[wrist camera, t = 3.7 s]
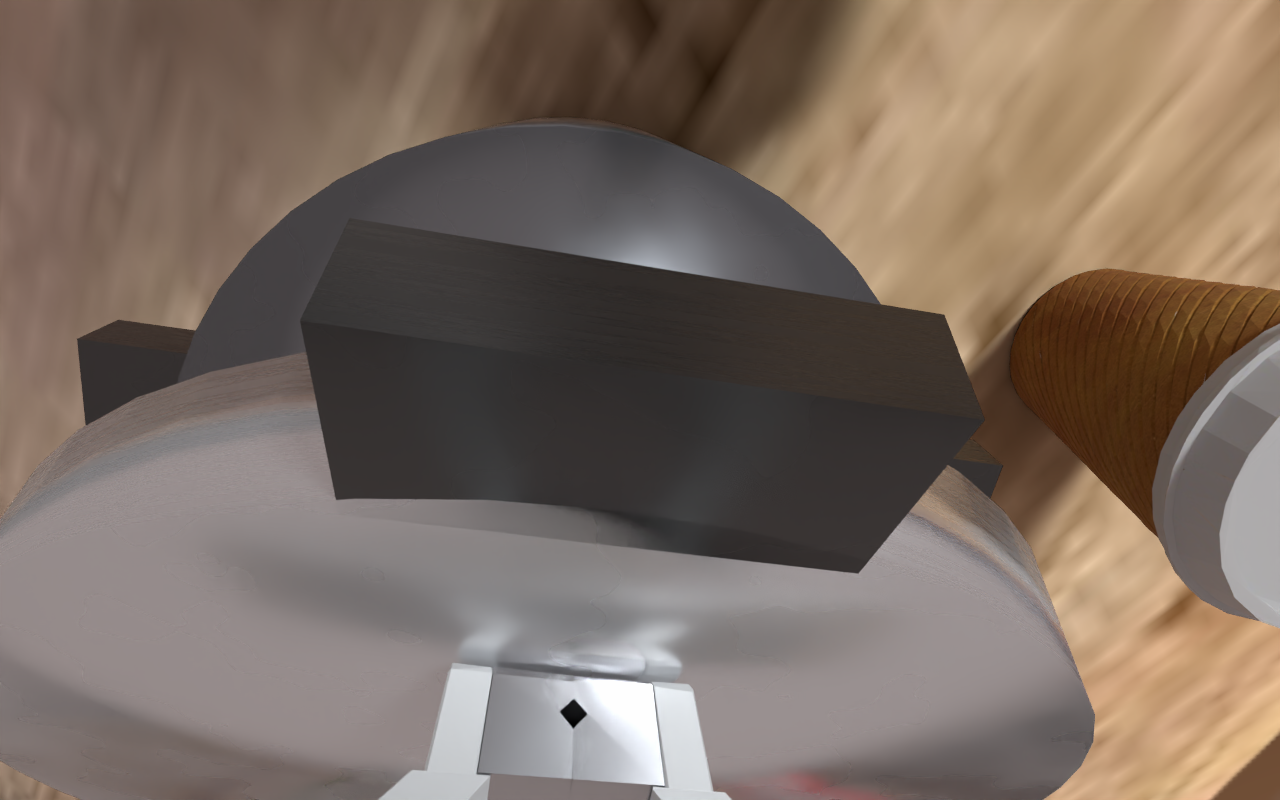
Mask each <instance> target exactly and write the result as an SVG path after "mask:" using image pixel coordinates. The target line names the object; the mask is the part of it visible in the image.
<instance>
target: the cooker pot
mask: <svg viewBox="0 0 1280 800" xmlns="http://www.w3.org/2000/svg"><path fill="white" fill-rule="evenodd" d="M349 218H353V219H359V220H365V221H371V222H378V223H384V224H390V225H396V226H402V227H408V228H414V229H421V230H427V231H433V232H439V233H445V234H451V235H457V236H464V237H470V238H476V239H482V240H488V241H494V242H500V243H507V244H513V245H519V246H525V247H531V248H537V249H543V250H549V251H556V252H562V253H568V254H574V255H580V256H586V257H592V258H599V259H605V260H611V261H617V262H623V263H629V264H635V265H642V266H648V267H654V268H660V269H666V270H672V271H678V272H684V273H691V274H697V275H703V276H709V277H715V278H721V279H727V280H734V281H740V282H746V283H752V284H758V285H764V286H770V287H777V288H783V289H789V290H795V291H801V292H807V293H813V294H819V295H826V296H832V297H838V298H844V299H850V300H856V301H862V302H869V303H875V304H880V302H879V301H878V300H877V298H876V297H875V295H874V294H873V292H872V291H871V289H870V288H869V286H868V285H867V284H866V282H865V281H864V279H863V278H862V276H861V275H860V273H859V272H858V270H857V269H856V268H855V267H854V265H853V264H852V263H851V262H850V261H849V260H848V259H847V258H846V257H845V256H844V255H843V254H842V253H841V252H840V250H839V249H838V248H837V247H836V246H835V245H834V244H833V243H832V242H831V241H830V240H829V239H828V238H827V237H826V235H825V234H824V233H823V232H822V231H821V230H820V229H818V228H817V227H816V226H815V225H814V224H812V223H811V222H810V221H809V220H807V219H806V218H805V217H804V216H802V215H801V214H800V213H799V212H797V211H796V210H795V209H794V208H792V207H791V206H790V205H789V204H787V203H786V202H785V201H784V200H782V199H781V198H780V197H778V196H777V195H775V194H773V193H772V192H770V191H768V190H766V189H765V188H763V187H761V186H760V185H758V184H756V183H755V182H753V181H751V180H749V179H748V178H746V177H744V176H743V175H741V174H739V173H738V172H736V171H734V170H732V169H730V168H728V167H726V166H724V165H721V164H719V163H717V162H715V161H713V160H710V159H708V158H706V157H704V156H701V155H699V154H697V153H695V152H692V151H690V150H688V149H686V148H683V147H681V146H679V145H677V144H674V143H672V142H670V141H667V140H665V139H662V138H660V137H658V136H655V135H653V134H650V133H648V132H645V131H643V130H640V129H636V128H633V127H629V126H625V125H621V124H617V123H613V122H609V121H603V120H595V119H586V118H577V117H549V118H533V119H527V120H521V121H515V122H509V123H503V124H498V125H494V126H490V127H486V128H482V129H477V130H473V131H469V132H465V133H461V134H456V135H452V136H448V137H444V138H441V139H438V140H435V141H431V142H428V143H425V144H422V145H419V146H416V147H412V148H409V149H406V150H403V151H400V152H397V153H393V154H390V155H388V156H386V157H384V158H382V159H379V160H377V161H375V162H373V163H371V164H369V165H367V166H365V167H363V168H361V169H359V170H357V171H355V172H353V173H350V174H348V175H346V176H344V177H342V178H340V179H338V180H336V181H335V182H333V183H332V184H330V185H329V186H328V187H326V188H325V189H323V190H322V191H320V192H319V193H317V194H316V195H314V196H313V197H311V198H310V199H308V200H307V201H306V202H304V203H303V204H301V205H300V206H298V207H297V208H295V209H294V210H292V211H291V212H290V213H289V214H288V215H286V216H285V217H284V218H283V219H282V220H281V221H280V222H279V223H278V224H277V225H276V226H275V227H274V228H273V229H271V230H270V231H269V232H268V233H267V234H266V235H265V236H264V237H263V238H262V239H261V240H260V241H259V242H258V243H256V244H255V245H254V246H253V247H252V248H251V249H250V250H249V252H248V253H247V254H246V256H245V257H244V258H243V259H242V261H241V262H240V263H239V265H238V266H237V267H236V268H235V270H234V271H233V272H232V273H231V275H230V276H229V277H228V279H227V280H226V281H225V282H224V284H223V285H222V286H221V288H220V289H219V290H218V292H217V294H216V295H215V297H214V299H213V301H212V303H211V305H210V306H209V308H208V310H207V312H206V314H205V315H204V317H203V319H202V321H201V323H200V324H199V326H198V328H197V330H196V331H194V330H187V329H180V328H173V327H165V326H158V325H151V324H144V323H137V322H130V321H123V320H117V321H115V322H113V323H110V324H108V325H106V326H104V327H102V328H100V329H98V330H95V331H93V332H91V333H89V334H87V335H85V336H82V337H80V338H78V339H77V341H78V351H79V361H80V372H81V382H82V392H83V402H84V412H85V423H86V425H88V424H90V423H92V422H93V421H95V420H97V419H99V418H101V417H103V416H104V415H106V414H108V413H110V412H112V411H113V410H115V409H117V408H119V407H121V406H122V405H124V404H126V403H128V402H130V401H131V400H133V399H135V398H138V397H141V396H143V395H146V394H149V393H152V392H155V391H158V390H160V389H163V388H166V387H169V386H172V385H175V384H177V383H180V382H183V381H186V380H189V379H192V378H195V377H197V376H200V375H203V374H206V373H209V372H212V371H217V370H222V369H226V368H231V367H236V366H241V365H246V364H250V363H255V362H260V361H265V360H269V359H274V358H279V357H284V356H289V355H293V354H298V353H303V352H306V349H305V344H304V339H303V334H302V329H301V324H300V319H301V317H302V315H303V313H304V311H305V309H306V307H307V305H308V303H309V301H310V298H311V296H312V294H313V292H314V290H315V288H316V286H317V284H318V282H319V280H320V278H321V276H322V274H323V272H324V270H325V267H326V265H327V263H328V261H329V259H330V257H331V255H332V253H333V251H334V249H335V247H336V245H337V243H338V241H339V239H340V236H341V234H342V232H343V230H344V228H345V226H346V224H347V222H348V220H349ZM948 465H949V466H950V467H952V468H954V469H955V470H957V471H958V472H960V473H961V474H962V475H964V476H965V477H966V478H967V479H968V480H969V481H970V482H972V483H973V484H974V485H975V486H976V487H977V488H978V489H980V490H981V491H982V492H983V493H984V494H985V495H987V496H988V497H989V498H991V495H992V492H993V490H994V487H995V485H996V482H997V480H998V477H999V474H1000V472H1001V469H1002V467H1003V465H1002V464H1001V463H999V462H998V461H997V460H996V459H995V458H994V457H992V456H991V455H990V454H989V453H988V452H987V451H986V450H984V449H983V448H982V447H981V446H980V445H979V444H977V443H976V442H975V441H974V440H968V441H967V442H966V443H965V445H964V446H963V447H962V448H961V450H960V451H959V452H958V453H957V454H956V456H955V457H954V458H953V459H952V460H951V462H950V463H949V464H948Z"/></svg>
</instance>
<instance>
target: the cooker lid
mask: <svg viewBox="0 0 1280 800" xmlns="http://www.w3.org/2000/svg"><path fill="white" fill-rule="evenodd" d="M300 324H301V329H302V334H303V339H304V344H305V349H306V352H303V353H298V354H293V355H289V356H284V357H279V358H274V359H269V360H265V361H260V362H255V363H250V364H246V365H241V366H236V367H231V368H226V369H222V370H217V371H212V372H209V373H206V374H203V375H200V376H197V377H195V378H192V379H189V380H186V381H183V382H180V383H177V384H175V385H172V386H169V387H166V388H163V389H160V390H158V391H155V392H152V393H149V394H146V395H143V396H141V397H138V398H135V399H133V400H131V401H130V402H128V403H126V404H124V405H122V406H121V407H119V408H117V409H115V410H113V411H112V412H110V413H108V414H106V415H104V416H103V417H101V418H99V419H97V420H95V421H93V422H92V423H90V424H88V425H86V426H84V427H83V428H81V429H79V430H77V431H76V432H75V433H74V434H73V435H72V436H71V437H70V438H68V439H67V440H66V441H65V442H64V443H63V444H62V445H60V446H59V447H58V448H57V449H56V450H55V451H54V452H53V453H51V454H50V455H49V456H48V457H47V458H46V459H45V460H43V461H42V462H41V463H40V464H39V465H38V466H37V468H36V469H35V471H34V472H33V473H32V475H31V476H30V478H29V479H28V481H27V482H26V483H25V485H24V486H23V488H22V489H21V491H20V492H19V493H18V495H17V496H16V498H15V499H14V501H13V502H12V503H11V505H10V506H9V508H8V509H7V511H6V512H5V513H4V515H3V516H2V518H1V519H0V761H2V762H3V763H5V764H7V765H8V766H10V767H12V768H13V769H15V770H17V771H19V772H21V773H23V774H25V775H27V776H29V777H31V778H33V779H35V780H37V781H39V782H42V783H44V784H46V785H48V786H50V787H52V788H54V789H56V790H58V791H61V792H63V793H66V794H68V795H71V796H73V797H76V798H79V799H81V800H378V799H379V798H380V797H381V796H382V795H383V794H385V793H386V792H387V791H388V790H389V789H390V788H391V787H392V786H394V785H395V784H396V783H397V782H398V781H399V780H400V779H401V778H402V777H404V776H405V775H406V774H407V773H408V772H409V771H410V770H421V771H424V769H425V765H426V761H427V757H428V753H429V749H430V744H431V740H432V736H433V732H434V728H435V724H436V720H437V716H438V711H439V707H440V703H441V699H442V695H443V691H444V687H445V683H446V678H447V674H448V671H449V669H450V667H451V665H452V663H458V664H467V665H476V666H485V667H492V668H493V672H494V667H500V668H509V669H518V670H526V671H535V672H544V673H553V674H561V675H570V676H581V677H593V678H605V679H617V680H629V681H642V682H649V683H650V682H666V683H680V684H689V685H690V686H691V687H692V689H693V691H694V696H695V701H696V706H697V711H698V716H699V721H700V726H701V731H702V736H703V741H704V746H705V751H706V756H707V761H708V766H709V771H710V776H711V782H712V787H713V791H714V792H725V793H726V794H727V795H728V796H729V797H730V798H731V799H732V800H1043V799H1045V798H1046V797H1047V796H1049V795H1050V794H1052V793H1053V792H1055V791H1056V790H1057V789H1059V788H1060V787H1061V786H1062V785H1063V784H1064V783H1065V782H1066V781H1067V780H1068V779H1069V778H1070V777H1071V776H1072V775H1073V774H1074V773H1075V772H1076V771H1077V770H1078V769H1079V768H1080V766H1081V765H1082V763H1083V761H1084V759H1085V757H1086V755H1087V753H1088V751H1089V749H1090V747H1091V745H1092V743H1093V737H1094V722H1095V714H1094V711H1093V709H1092V706H1091V703H1090V701H1089V698H1088V695H1087V693H1086V690H1085V688H1084V685H1083V682H1082V680H1081V677H1080V675H1079V672H1078V669H1077V667H1076V664H1075V662H1074V659H1073V656H1072V654H1071V651H1070V649H1069V646H1068V643H1067V641H1066V638H1065V636H1064V633H1063V630H1062V628H1061V625H1060V622H1059V620H1058V617H1057V615H1056V612H1055V609H1054V607H1053V604H1052V602H1051V599H1050V596H1049V594H1048V591H1047V589H1046V586H1045V583H1044V581H1043V578H1042V576H1041V573H1040V570H1039V568H1038V565H1037V563H1036V560H1035V557H1034V555H1033V552H1032V549H1031V547H1030V545H1029V544H1028V543H1027V541H1026V540H1025V539H1024V537H1023V536H1022V535H1021V533H1020V532H1019V531H1018V529H1017V528H1016V527H1015V525H1014V524H1013V523H1012V521H1011V520H1010V519H1009V517H1008V516H1007V514H1006V513H1005V512H1004V510H1003V509H1001V508H1000V507H999V506H998V505H997V504H996V503H995V502H993V501H992V500H991V499H990V498H989V497H988V496H987V495H985V494H984V493H983V492H982V491H981V490H980V489H978V488H977V487H976V486H975V485H974V484H973V483H972V482H970V481H969V480H968V479H967V478H966V477H965V476H964V475H962V474H961V473H960V472H958V471H957V470H955V469H954V468H952V467H950V466H949V465H948V464H949V463H950V462H951V460H952V459H953V458H954V457H955V456H956V454H957V453H958V452H959V451H960V450H961V448H962V447H963V446H964V445H965V443H966V442H967V441H968V440H969V439H970V437H971V436H972V435H973V434H974V432H975V431H976V430H977V429H978V428H979V426H980V425H981V424H982V423H983V422H984V420H985V419H984V416H983V414H982V411H981V408H980V406H979V403H978V401H977V398H976V396H975V393H974V390H973V388H972V385H971V383H970V380H969V377H968V375H967V372H966V370H965V367H964V365H963V362H962V359H961V357H960V354H959V352H958V349H957V346H956V344H955V341H954V339H953V336H952V334H951V331H950V328H949V326H948V323H947V321H946V318H945V316H944V315H942V314H936V313H930V312H924V311H918V310H912V309H905V308H899V307H893V306H887V305H881V304H875V303H869V302H862V301H856V300H850V299H844V298H838V297H832V296H826V295H819V294H813V293H807V292H801V291H795V290H789V289H783V288H777V287H770V286H764V285H758V284H752V283H746V282H740V281H734V280H727V279H721V278H715V277H709V276H703V275H697V274H691V273H684V272H678V271H672V270H666V269H660V268H654V267H648V266H642V265H635V264H629V263H623V262H617V261H611V260H605V259H599V258H592V257H586V256H580V255H574V254H568V253H562V252H556V251H549V250H543V249H537V248H531V247H525V246H519V245H513V244H507V243H500V242H494V241H488V240H482V239H476V238H470V237H464V236H457V235H451V234H445V233H439V232H433V231H427V230H421V229H414V228H408V227H402V226H396V225H390V224H384V223H378V222H371V221H365V220H359V219H353V218H349V220H348V222H347V224H346V226H345V228H344V230H343V232H342V234H341V236H340V239H339V241H338V243H337V245H336V247H335V249H334V251H333V253H332V255H331V257H330V259H329V261H328V263H327V265H326V267H325V270H324V272H323V274H322V276H321V278H320V280H319V282H318V284H317V286H316V288H315V290H314V292H313V294H312V296H311V298H310V301H309V303H308V305H307V307H306V309H305V311H304V313H303V315H302V317H301V319H300ZM492 678H493V675H492ZM491 684H492V683H491Z"/></svg>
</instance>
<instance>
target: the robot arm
mask: <svg viewBox="0 0 1280 800" xmlns="http://www.w3.org/2000/svg"><path fill="white" fill-rule="evenodd" d="M492 675H493V678H492ZM491 683H492V684H491ZM378 800H732V799H731V798H730V797H729V796H728V795H727V794H726V793H725V792H714V791H713V787H712V782H711V776H710V771H709V766H708V761H707V756H706V751H705V746H704V741H703V736H702V731H701V726H700V721H699V716H698V711H697V706H696V701H695V696H694V691H693V689H692V687H691V686H690V685H689V684H680V683H666V682H650V683H649V682H642V681H629V680H617V679H605V678H593V677H581V676H570V675H561V674H553V673H544V672H535V671H526V670H518V669H509V668H500V667H494V672H493V668H492V667H485V666H476V665H467V664H458V663H452V665H451V667H450V669H449V671H448V674H447V678H446V683H445V687H444V691H443V695H442V699H441V703H440V707H439V711H438V716H437V720H436V724H435V728H434V732H433V736H432V740H431V744H430V749H429V753H428V757H427V761H426V765H425V769H424V771H421V770H410V771H409V772H408V773H407V774H406V775H405V776H404V777H402V778H401V779H400V780H399V781H398V782H397V783H396V784H395V785H394V786H392V787H391V788H390V789H389V790H388V791H387V792H386V793H385V794H383V795H382V796H381V797H380V798H379V799H378Z"/></svg>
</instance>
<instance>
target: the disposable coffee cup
mask: <svg viewBox="0 0 1280 800" xmlns="http://www.w3.org/2000/svg"><path fill="white" fill-rule="evenodd" d="M1010 371H1011V379H1012V381H1013V384H1014V386H1015V389H1016V391H1017V394H1018V395H1019V396H1020V398H1021V399H1022V400H1023V402H1024V403H1025V404H1026V405H1027V406H1028V407H1029V408H1030V409H1031V410H1032V411H1033V412H1034V413H1035V414H1036V415H1037V416H1038V417H1039V418H1040V419H1041V420H1042V421H1043V422H1044V423H1045V424H1046V425H1047V426H1048V427H1049V428H1050V429H1051V430H1052V431H1053V432H1054V433H1055V434H1056V435H1057V436H1058V437H1059V438H1060V439H1061V440H1062V441H1063V442H1064V443H1065V444H1066V445H1067V446H1068V447H1069V448H1070V449H1071V450H1072V451H1073V453H1074V454H1076V455H1077V456H1078V457H1079V458H1080V460H1081V461H1082V462H1083V463H1085V464H1086V465H1087V467H1088V468H1089V469H1090V470H1091V471H1092V472H1093V473H1094V474H1095V475H1096V476H1097V477H1098V478H1099V479H1100V480H1101V481H1102V482H1103V483H1104V484H1105V485H1106V486H1107V487H1108V488H1109V489H1110V490H1111V491H1112V493H1114V494H1115V495H1116V496H1117V497H1118V498H1119V499H1120V500H1121V501H1122V502H1123V503H1124V504H1125V505H1126V506H1127V507H1128V508H1129V509H1130V510H1131V511H1132V512H1133V513H1134V514H1135V515H1136V516H1137V517H1138V518H1139V519H1140V520H1141V521H1142V523H1143V524H1144V525H1145V526H1146V527H1147V528H1148V529H1149V530H1150V531H1151V532H1153V533H1154V534H1155V535H1156V536H1157V537H1158V538H1159V540H1160V542H1161V544H1162V546H1163V547H1164V550H1165V554H1166V555H1167V557H1168V559H1169V561H1170V563H1171V565H1172V567H1173V569H1174V571H1175V573H1176V574H1177V575H1178V576H1179V577H1180V578H1181V580H1182V581H1183V582H1184V583H1185V584H1186V585H1187V587H1188V588H1189V589H1190V590H1191V591H1192V592H1193V593H1195V594H1196V595H1197V596H1198V597H1199V598H1200V599H1201V600H1203V601H1205V602H1207V603H1209V604H1211V605H1213V606H1214V607H1216V608H1218V609H1220V610H1222V611H1224V612H1226V613H1228V614H1232V615H1236V616H1241V617H1245V618H1249V619H1253V620H1257V621H1261V622H1263V623H1266V624H1269V625H1272V626H1275V627H1277V628H1280V290H1273V289H1267V288H1260V287H1258V288H1256V287H1254V286H1240V285H1234V284H1223V283H1220V282H1206V281H1204V280H1192V279H1186V278H1177V277H1169V276H1163V275H1152V274H1145V273H1137V272H1128V271H1124V270H1116V269H1101V270H1094V271H1087V272H1084V273H1081V274H1078V275H1075V276H1073V277H1071V278H1069V279H1067V280H1065V281H1063V282H1062V283H1060V284H1058V285H1056V286H1055V287H1054V288H1052V289H1051V290H1050V291H1048V292H1047V293H1046V294H1045V295H1043V296H1042V297H1041V298H1040V299H1039V300H1038V301H1037V302H1036V303H1035V304H1034V305H1033V306H1032V308H1031V309H1030V311H1029V312H1028V313H1027V315H1026V316H1025V318H1024V319H1023V320H1022V323H1021V325H1020V327H1019V329H1018V331H1017V333H1016V335H1015V338H1014V342H1013V345H1012V348H1011V356H1010Z"/></svg>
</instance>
